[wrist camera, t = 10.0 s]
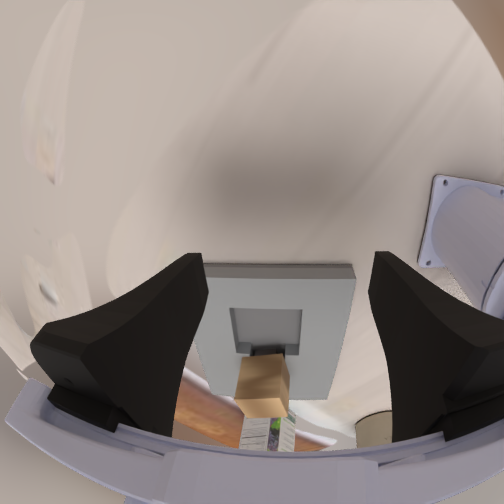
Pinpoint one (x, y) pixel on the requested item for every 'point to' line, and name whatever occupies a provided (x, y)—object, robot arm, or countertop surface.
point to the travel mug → (374, 430)
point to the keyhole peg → (263, 385)
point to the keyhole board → (275, 322)
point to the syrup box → (268, 434)
